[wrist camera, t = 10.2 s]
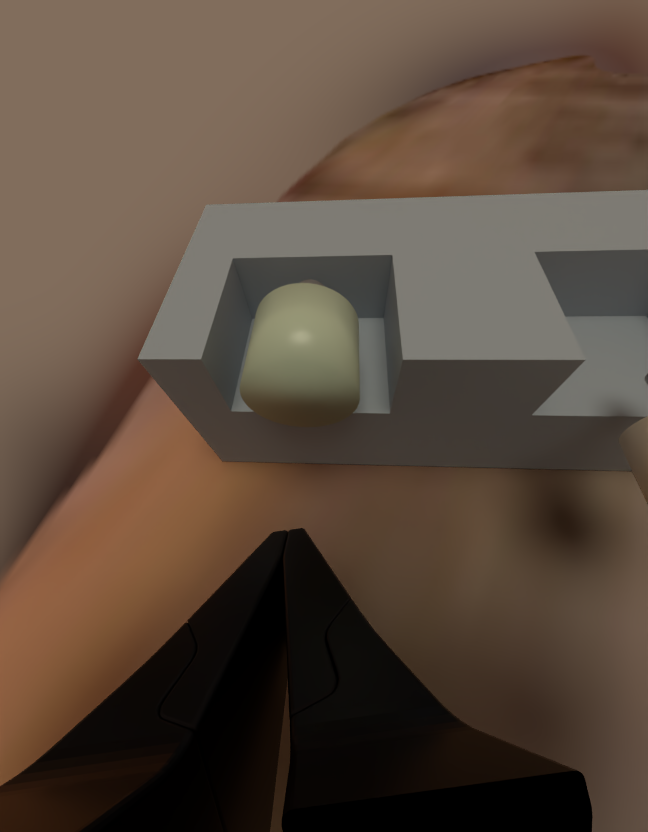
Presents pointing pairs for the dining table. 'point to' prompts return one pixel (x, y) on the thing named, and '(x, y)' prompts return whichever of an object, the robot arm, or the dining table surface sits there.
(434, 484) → the dining table surface
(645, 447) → the cream button
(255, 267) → the block
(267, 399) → the pale green rounded cylinder
